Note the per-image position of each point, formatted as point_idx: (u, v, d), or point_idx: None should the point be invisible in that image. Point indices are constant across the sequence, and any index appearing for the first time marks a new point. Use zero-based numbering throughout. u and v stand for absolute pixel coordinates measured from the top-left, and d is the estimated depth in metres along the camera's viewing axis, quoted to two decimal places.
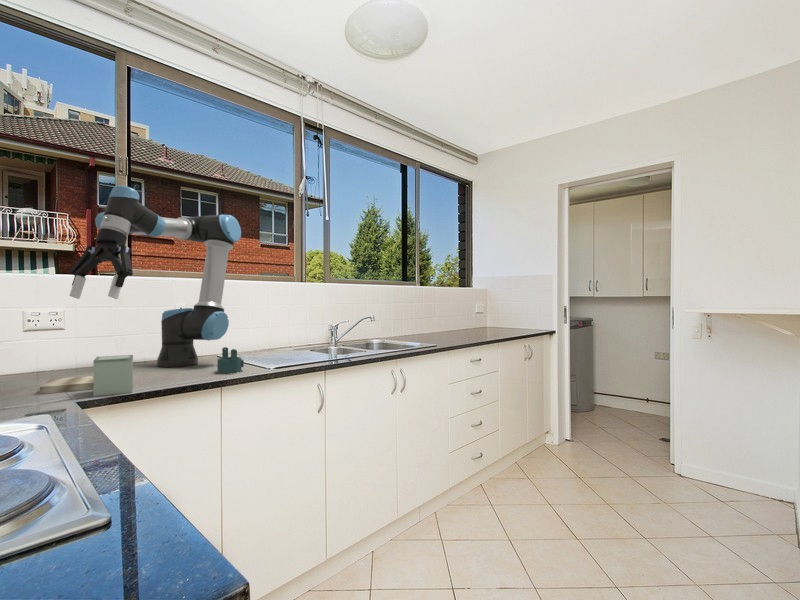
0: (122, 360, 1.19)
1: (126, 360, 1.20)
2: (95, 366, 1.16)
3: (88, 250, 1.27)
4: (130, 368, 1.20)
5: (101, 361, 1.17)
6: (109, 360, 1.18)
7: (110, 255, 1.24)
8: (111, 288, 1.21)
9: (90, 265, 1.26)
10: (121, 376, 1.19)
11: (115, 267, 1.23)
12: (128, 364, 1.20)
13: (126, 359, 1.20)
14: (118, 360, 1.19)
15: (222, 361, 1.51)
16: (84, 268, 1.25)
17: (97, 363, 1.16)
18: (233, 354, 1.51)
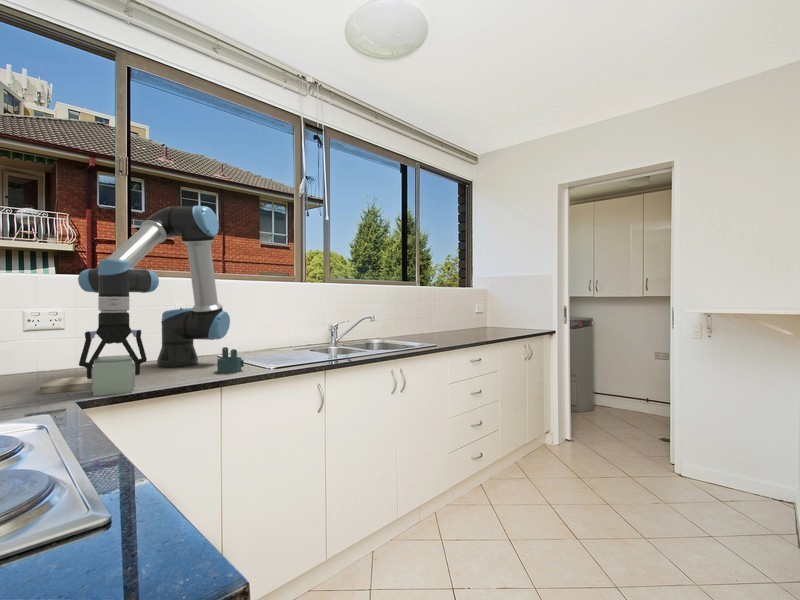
0: (122, 360, 1.19)
1: (126, 360, 1.20)
2: (95, 366, 1.16)
3: (90, 337, 1.18)
4: (130, 368, 1.20)
5: (101, 361, 1.17)
6: (109, 360, 1.18)
7: (125, 342, 1.22)
8: (134, 379, 1.23)
9: (100, 352, 1.20)
10: (121, 376, 1.19)
11: (132, 355, 1.23)
12: (128, 364, 1.20)
13: (126, 359, 1.20)
14: (118, 360, 1.19)
15: (222, 361, 1.51)
16: (97, 357, 1.19)
17: (97, 363, 1.16)
18: (233, 354, 1.51)
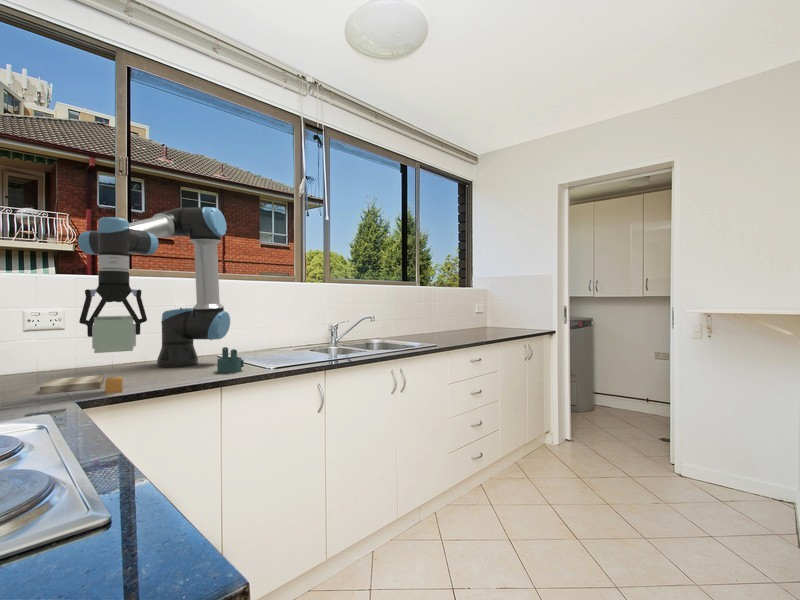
0: (122, 318, 1.19)
1: (126, 318, 1.20)
2: (95, 323, 1.16)
3: (90, 294, 1.18)
4: (130, 326, 1.21)
5: (101, 318, 1.17)
6: (109, 318, 1.18)
7: (125, 301, 1.22)
8: (134, 338, 1.24)
9: (100, 310, 1.20)
10: (122, 334, 1.19)
11: (132, 315, 1.23)
12: (128, 322, 1.20)
13: (126, 317, 1.20)
14: (118, 318, 1.19)
15: (222, 361, 1.51)
16: (97, 315, 1.19)
17: (97, 320, 1.16)
18: (233, 354, 1.51)
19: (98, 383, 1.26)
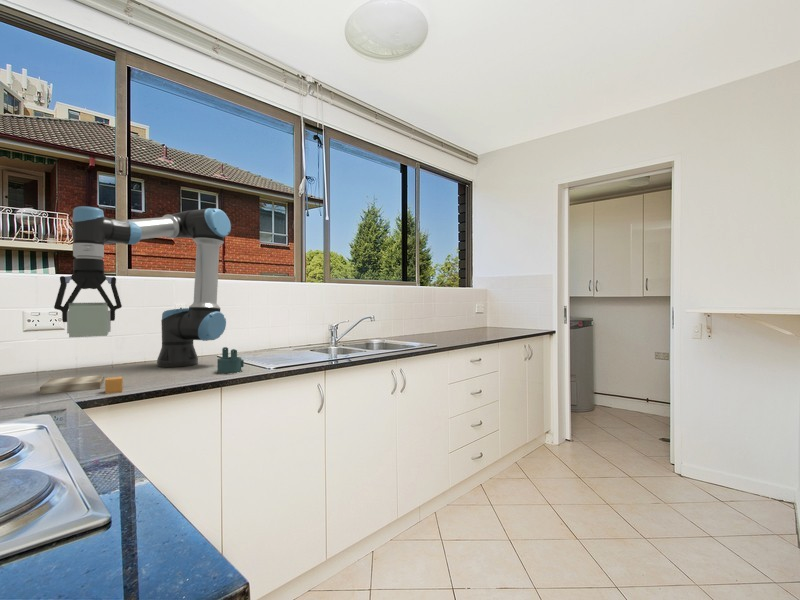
0: (97, 304, 1.24)
1: (101, 304, 1.24)
2: (70, 308, 1.20)
3: (65, 281, 1.22)
4: (105, 312, 1.25)
5: (76, 304, 1.21)
6: (84, 303, 1.22)
7: (100, 287, 1.26)
8: (109, 324, 1.28)
9: (75, 297, 1.24)
10: (96, 319, 1.24)
11: (107, 301, 1.28)
12: (103, 308, 1.24)
13: (101, 303, 1.24)
14: (93, 304, 1.23)
15: (222, 361, 1.51)
16: (72, 301, 1.23)
17: (72, 306, 1.20)
18: (233, 354, 1.51)
19: (98, 383, 1.26)
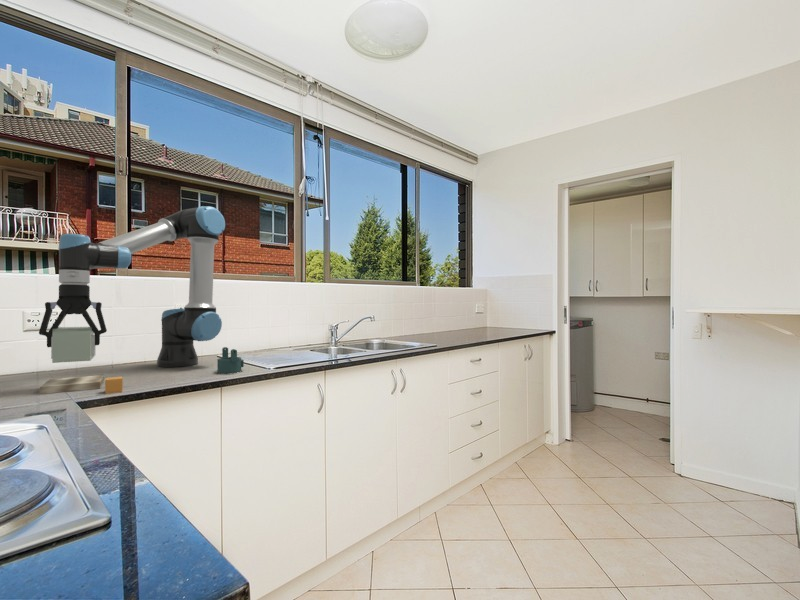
0: (81, 329, 1.26)
1: (85, 330, 1.26)
2: (54, 334, 1.22)
3: (50, 307, 1.24)
4: (89, 337, 1.26)
5: (60, 330, 1.23)
6: (68, 329, 1.24)
7: (85, 313, 1.28)
8: (93, 349, 1.30)
9: (60, 322, 1.26)
10: (80, 345, 1.25)
11: (91, 326, 1.30)
12: (87, 333, 1.26)
13: (85, 329, 1.26)
14: (77, 329, 1.25)
15: (222, 361, 1.51)
16: (57, 327, 1.25)
17: (56, 331, 1.23)
18: (233, 354, 1.51)
19: (98, 383, 1.26)
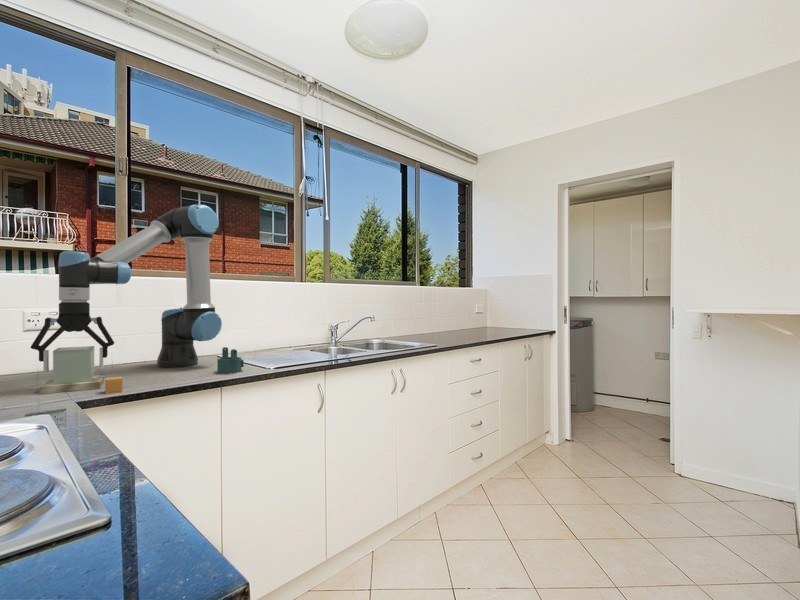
0: (81, 350, 1.26)
1: (85, 351, 1.26)
2: (55, 356, 1.22)
3: (49, 323, 1.24)
4: (89, 358, 1.27)
5: (60, 351, 1.23)
6: (68, 350, 1.24)
7: (87, 329, 1.29)
8: (101, 361, 1.31)
9: None
10: (80, 366, 1.25)
11: (97, 340, 1.30)
12: (87, 354, 1.26)
13: (85, 350, 1.26)
14: (77, 350, 1.25)
15: (222, 361, 1.51)
16: (51, 342, 1.25)
17: (57, 353, 1.23)
18: (233, 354, 1.51)
19: (98, 383, 1.26)
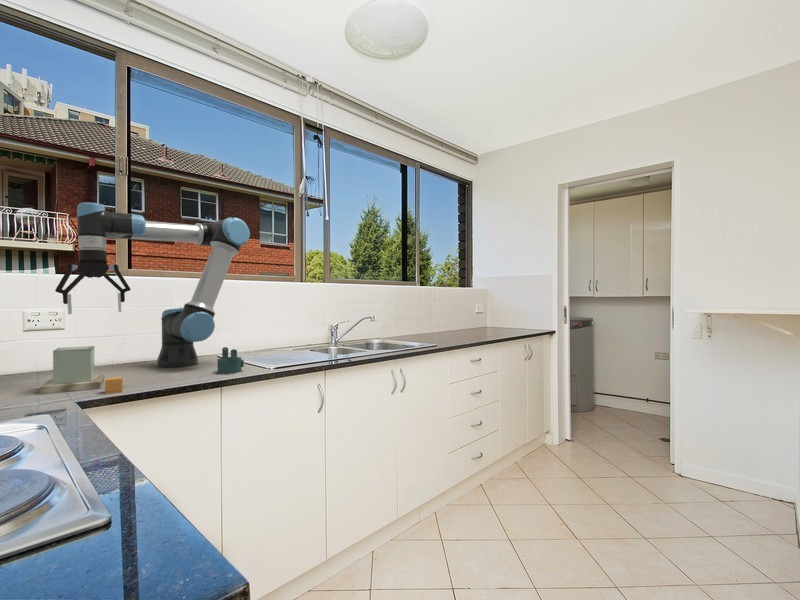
0: (81, 350, 1.26)
1: (85, 351, 1.26)
2: (55, 356, 1.22)
3: (71, 268, 1.35)
4: (89, 358, 1.27)
5: (60, 351, 1.23)
6: (68, 350, 1.24)
7: (106, 275, 1.40)
8: (120, 305, 1.42)
9: (77, 283, 1.37)
10: (80, 366, 1.25)
11: (115, 285, 1.42)
12: (87, 354, 1.26)
13: (85, 350, 1.26)
14: (77, 350, 1.25)
15: (222, 361, 1.51)
16: (73, 286, 1.36)
17: (57, 353, 1.23)
18: (233, 354, 1.51)
19: (98, 383, 1.26)
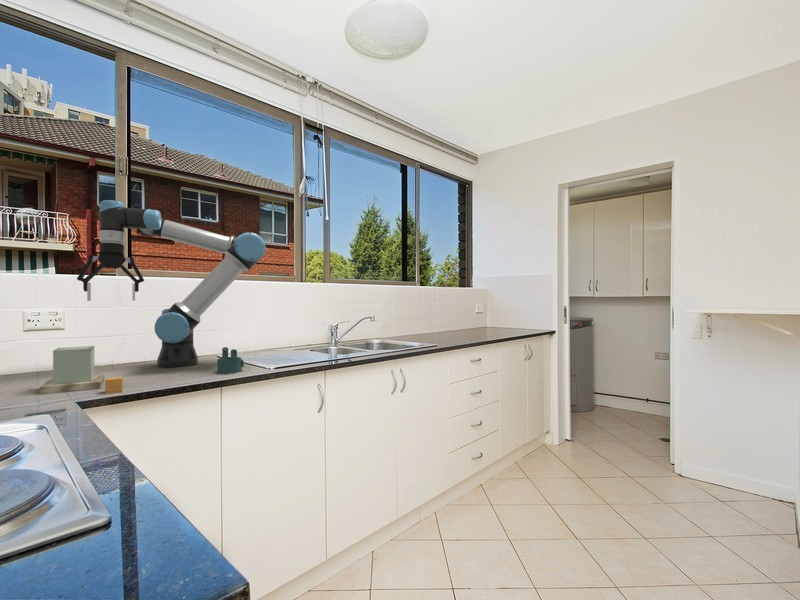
0: (81, 350, 1.26)
1: (85, 351, 1.26)
2: (55, 356, 1.22)
3: (91, 259, 1.49)
4: (89, 358, 1.27)
5: (60, 351, 1.23)
6: (68, 350, 1.24)
7: (122, 266, 1.53)
8: (133, 294, 1.55)
9: (97, 272, 1.51)
10: (80, 366, 1.25)
11: (130, 276, 1.55)
12: (87, 354, 1.26)
13: (85, 350, 1.26)
14: (77, 350, 1.25)
15: (222, 361, 1.51)
16: (93, 276, 1.49)
17: (57, 353, 1.23)
18: (233, 354, 1.51)
19: (98, 383, 1.26)
